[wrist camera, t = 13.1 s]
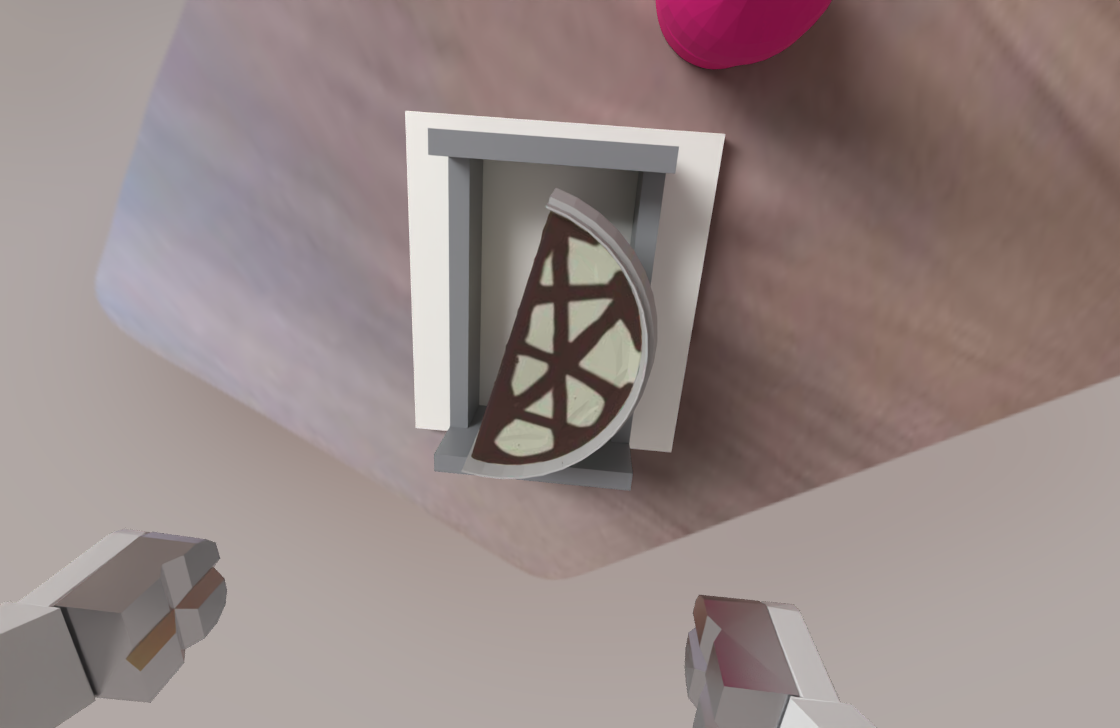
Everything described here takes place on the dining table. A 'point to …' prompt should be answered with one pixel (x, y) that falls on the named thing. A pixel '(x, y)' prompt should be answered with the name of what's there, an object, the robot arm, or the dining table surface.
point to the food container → (569, 350)
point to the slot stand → (510, 248)
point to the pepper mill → (735, 28)
